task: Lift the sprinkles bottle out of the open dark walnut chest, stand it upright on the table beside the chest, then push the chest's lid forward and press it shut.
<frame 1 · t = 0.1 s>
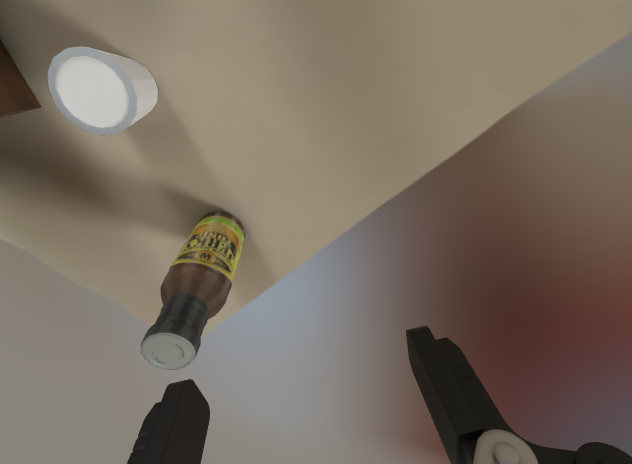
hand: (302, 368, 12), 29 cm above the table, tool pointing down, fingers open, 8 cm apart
sauce bottle: (221, 229, 41), on the table
shot glass: (130, 87, 32), on the table
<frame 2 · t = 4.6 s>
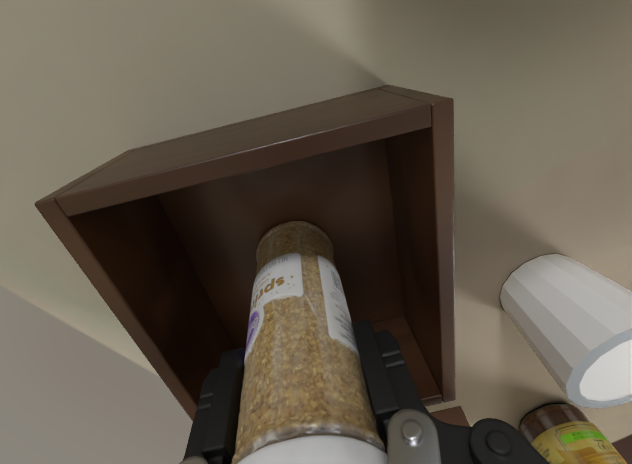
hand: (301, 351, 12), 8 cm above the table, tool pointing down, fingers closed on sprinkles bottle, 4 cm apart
sauce bottle: (544, 416, 31), on the table
chest: (295, 246, 19), on the table
shot glass: (536, 285, 23), on the table
sprinkles bottle: (295, 251, 19), point 1 cm above the table, touching chest, gripper
when the fingers open (7 cm above the table, at t = 12.5 s): sprinkles bottle stays where it is, on the table.
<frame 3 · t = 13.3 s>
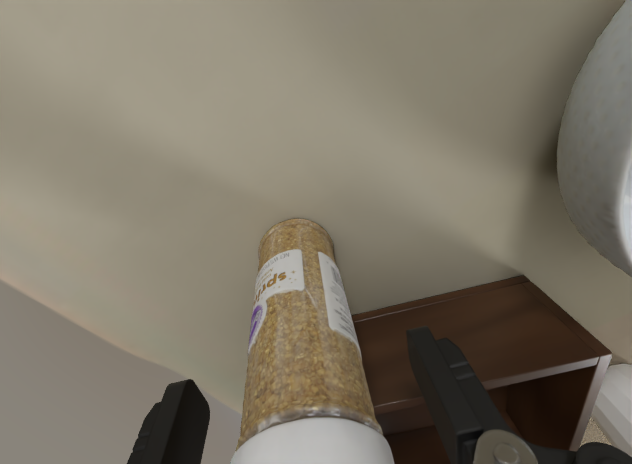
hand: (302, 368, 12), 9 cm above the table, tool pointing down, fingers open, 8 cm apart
chest: (433, 367, 26), on the table
shot glass: (604, 382, 29), on the table
sprinkles bottle: (296, 248, 19), on the table
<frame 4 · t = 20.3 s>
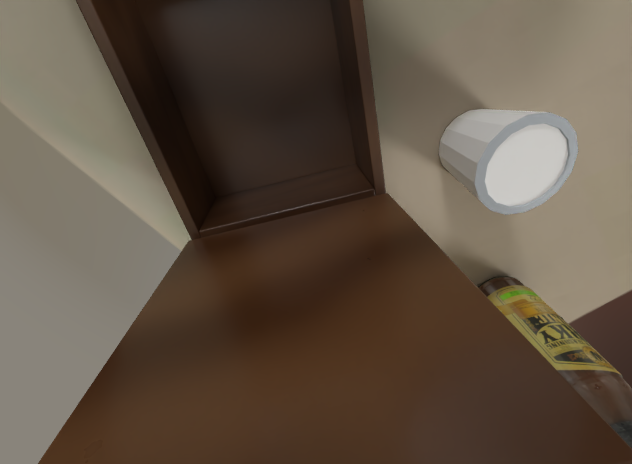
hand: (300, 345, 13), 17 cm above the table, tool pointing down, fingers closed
chest lid: (288, 295, 13), point 15 cm above the table, hinge at 85.7°, touching gripper
sauce bottle: (492, 294, 35), on the table
chest: (260, 89, 23), on the table
shot glass: (469, 143, 27), on the table
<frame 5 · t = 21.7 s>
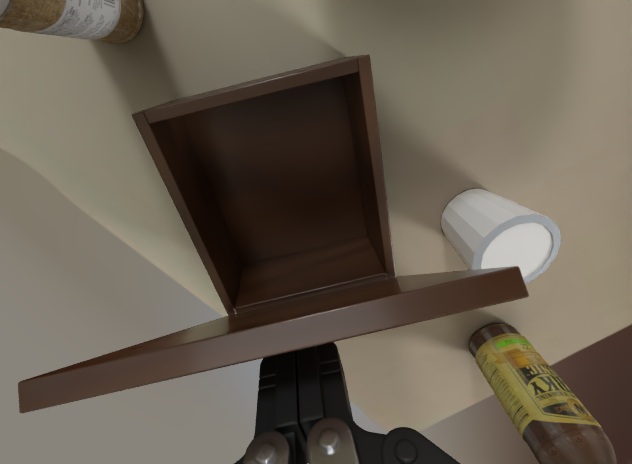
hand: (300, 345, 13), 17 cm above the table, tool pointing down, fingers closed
chest lid: (300, 311, 16), point 14 cm above the table, hinge at 51.6°, touching gripper
sauce bottle: (489, 337, 39), on the table
chest: (285, 177, 27), on the table
shot glass: (468, 215, 30), on the table
sprinkles bottle: (110, 4, 20), on the table
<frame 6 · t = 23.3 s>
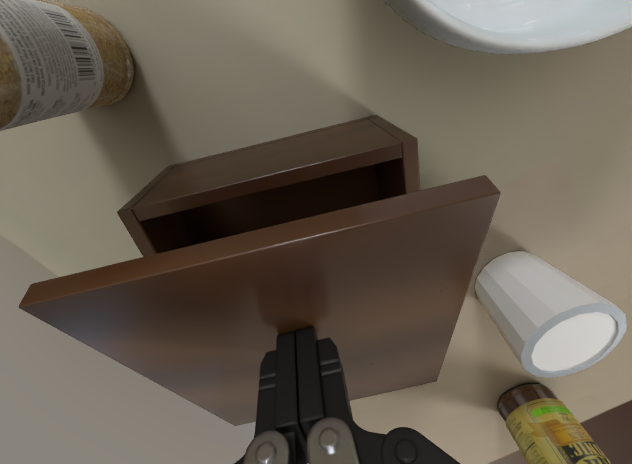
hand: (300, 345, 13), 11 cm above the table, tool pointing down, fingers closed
chest lid: (309, 350, 15), point 10 cm above the table, hinge at 18.2°, touching gripper
sauce bottle: (520, 395, 35), on the table
chest: (300, 244, 23), on the table
shot glass: (506, 277, 27), on the table
sprinkles bottle: (93, 60, 17), on the table
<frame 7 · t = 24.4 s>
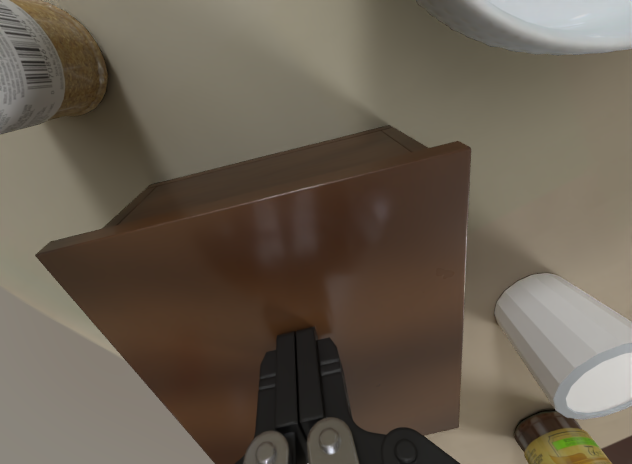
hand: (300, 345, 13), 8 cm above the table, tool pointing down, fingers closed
chest lid: (309, 359, 14), point 8 cm above the table, hinge at 2.6°
sauce bottle: (538, 422, 33), on the table
chest: (302, 268, 21), on the table
shot glass: (528, 301, 24), on the table
sprinkles bottle: (60, 63, 14), on the table
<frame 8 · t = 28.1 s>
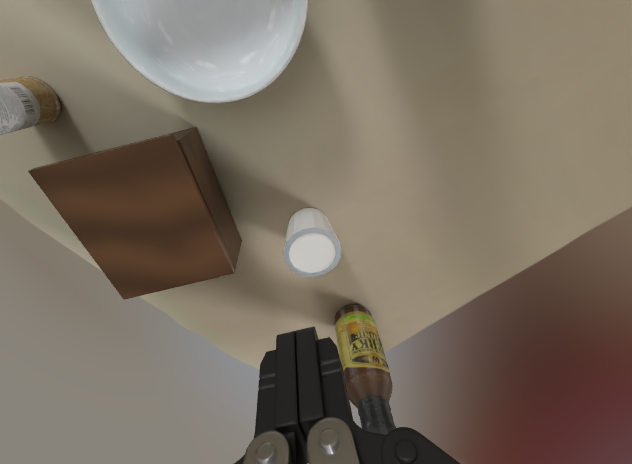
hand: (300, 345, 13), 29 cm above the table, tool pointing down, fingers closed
chest lid: (145, 226, 33), point 8 cm above the table, hinge at 2.6°
sauce bottle: (351, 315, 51), on the table
chest: (170, 201, 39), on the table
cereal bowl: (217, 3, 30), on the table
shot glass: (308, 225, 43), on the table
sprinkles bottle: (40, 100, 33), on the table
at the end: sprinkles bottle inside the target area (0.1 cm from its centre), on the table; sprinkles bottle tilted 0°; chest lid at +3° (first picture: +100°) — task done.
